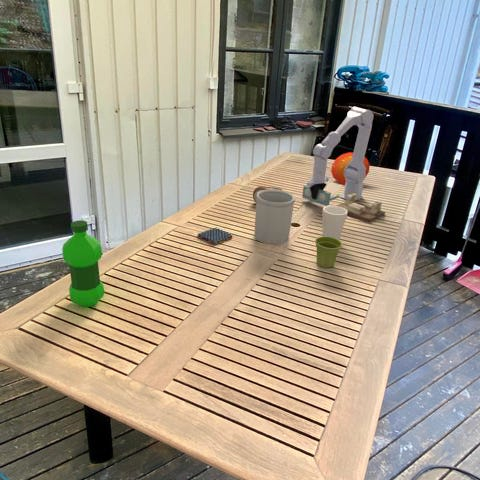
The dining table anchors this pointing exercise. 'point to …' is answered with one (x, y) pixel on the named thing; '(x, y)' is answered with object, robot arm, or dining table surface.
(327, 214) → the foam cup
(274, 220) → the utensil holder
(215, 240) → the woven mat
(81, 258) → the plastic bottle
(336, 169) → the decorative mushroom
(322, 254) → the plant pot
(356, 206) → the display stand
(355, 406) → the dining table surface
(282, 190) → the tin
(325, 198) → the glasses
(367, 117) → the robot arm
